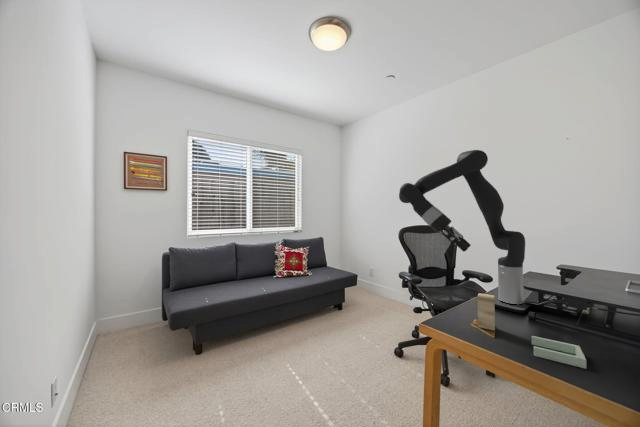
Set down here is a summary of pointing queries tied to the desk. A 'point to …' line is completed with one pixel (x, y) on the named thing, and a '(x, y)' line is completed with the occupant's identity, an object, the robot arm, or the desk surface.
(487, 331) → the shard
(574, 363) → the tray
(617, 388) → the desk surface
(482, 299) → the oak block
